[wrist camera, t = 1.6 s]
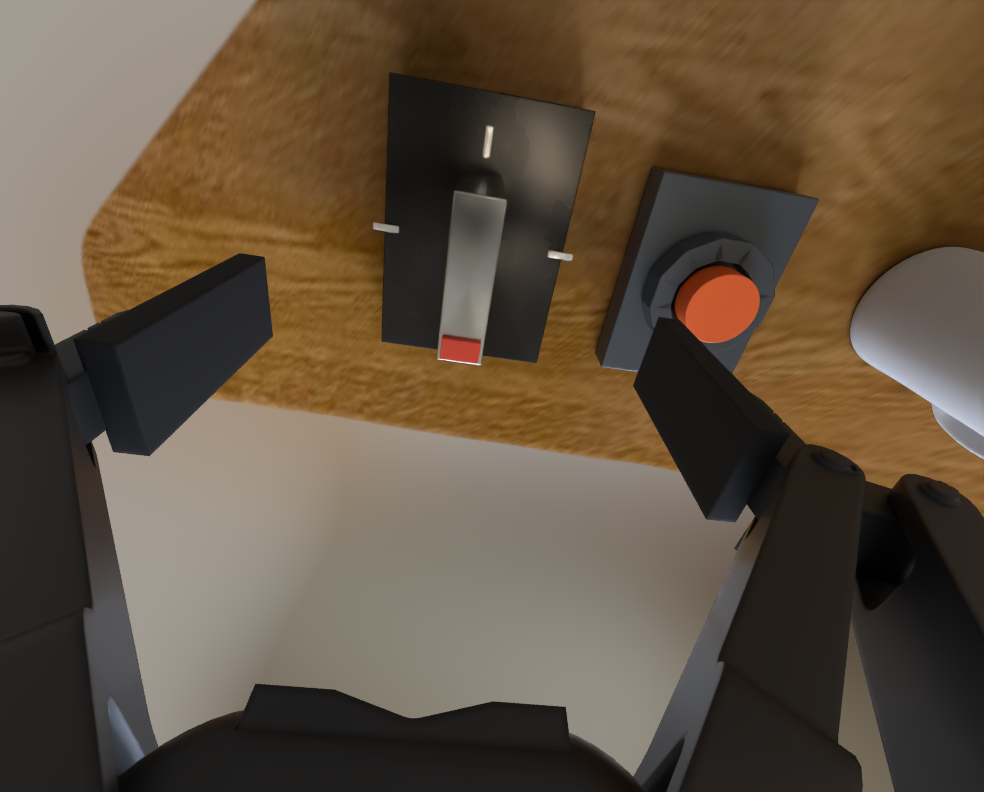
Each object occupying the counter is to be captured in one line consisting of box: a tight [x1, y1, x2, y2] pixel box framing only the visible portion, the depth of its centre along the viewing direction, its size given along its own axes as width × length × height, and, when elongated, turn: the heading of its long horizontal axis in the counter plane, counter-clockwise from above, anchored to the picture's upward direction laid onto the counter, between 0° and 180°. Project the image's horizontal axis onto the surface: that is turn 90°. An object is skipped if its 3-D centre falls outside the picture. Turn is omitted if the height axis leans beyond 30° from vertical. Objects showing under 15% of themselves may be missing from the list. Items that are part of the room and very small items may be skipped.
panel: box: [373, 72, 595, 363], centre depth 26 cm, size 14×11×3 cm
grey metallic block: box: [437, 170, 507, 365], centre depth 21 cm, size 7×2×8 cm, turn 171°
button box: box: [595, 168, 819, 373], centre depth 28 cm, size 12×9×4 cm
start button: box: [675, 265, 760, 343], centre depth 25 cm, size 4×4×2 cm
